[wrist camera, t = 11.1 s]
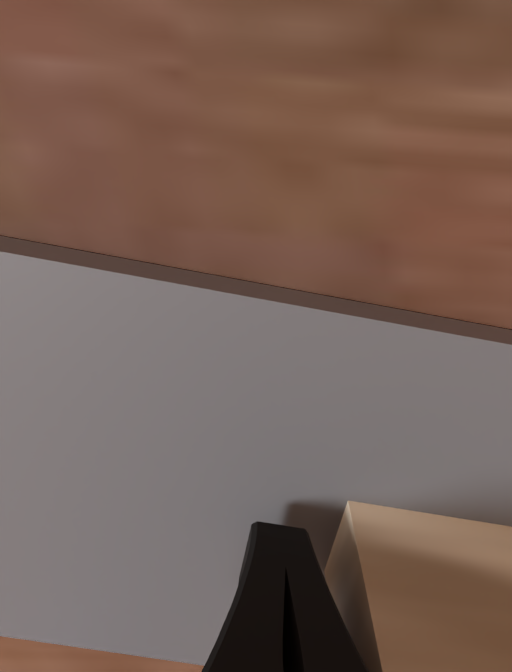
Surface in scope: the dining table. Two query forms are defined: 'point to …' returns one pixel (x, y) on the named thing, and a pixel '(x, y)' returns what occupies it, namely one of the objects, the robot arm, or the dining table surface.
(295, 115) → the dining table surface
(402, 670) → the birch slat
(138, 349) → the assembly board
